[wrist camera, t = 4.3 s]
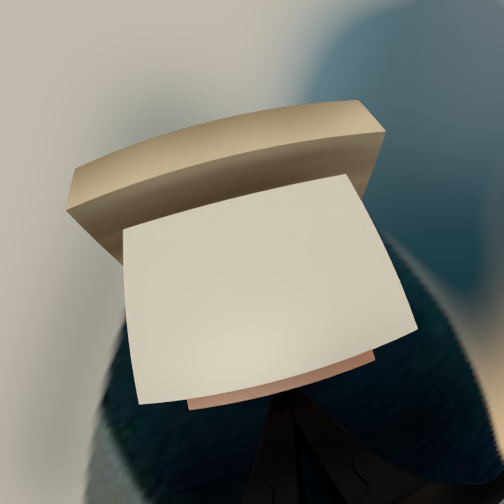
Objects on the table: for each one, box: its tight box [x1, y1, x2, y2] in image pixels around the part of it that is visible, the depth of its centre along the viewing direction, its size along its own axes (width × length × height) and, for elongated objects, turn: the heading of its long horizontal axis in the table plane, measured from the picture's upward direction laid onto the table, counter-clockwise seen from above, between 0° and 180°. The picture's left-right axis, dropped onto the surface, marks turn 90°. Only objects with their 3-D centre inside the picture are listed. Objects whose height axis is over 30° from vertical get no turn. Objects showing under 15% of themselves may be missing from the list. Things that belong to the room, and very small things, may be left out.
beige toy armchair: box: [66, 100, 386, 265], centre depth 12 cm, size 8×11×11 cm
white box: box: [123, 174, 418, 410], centre depth 11 cm, size 5×7×9 cm
